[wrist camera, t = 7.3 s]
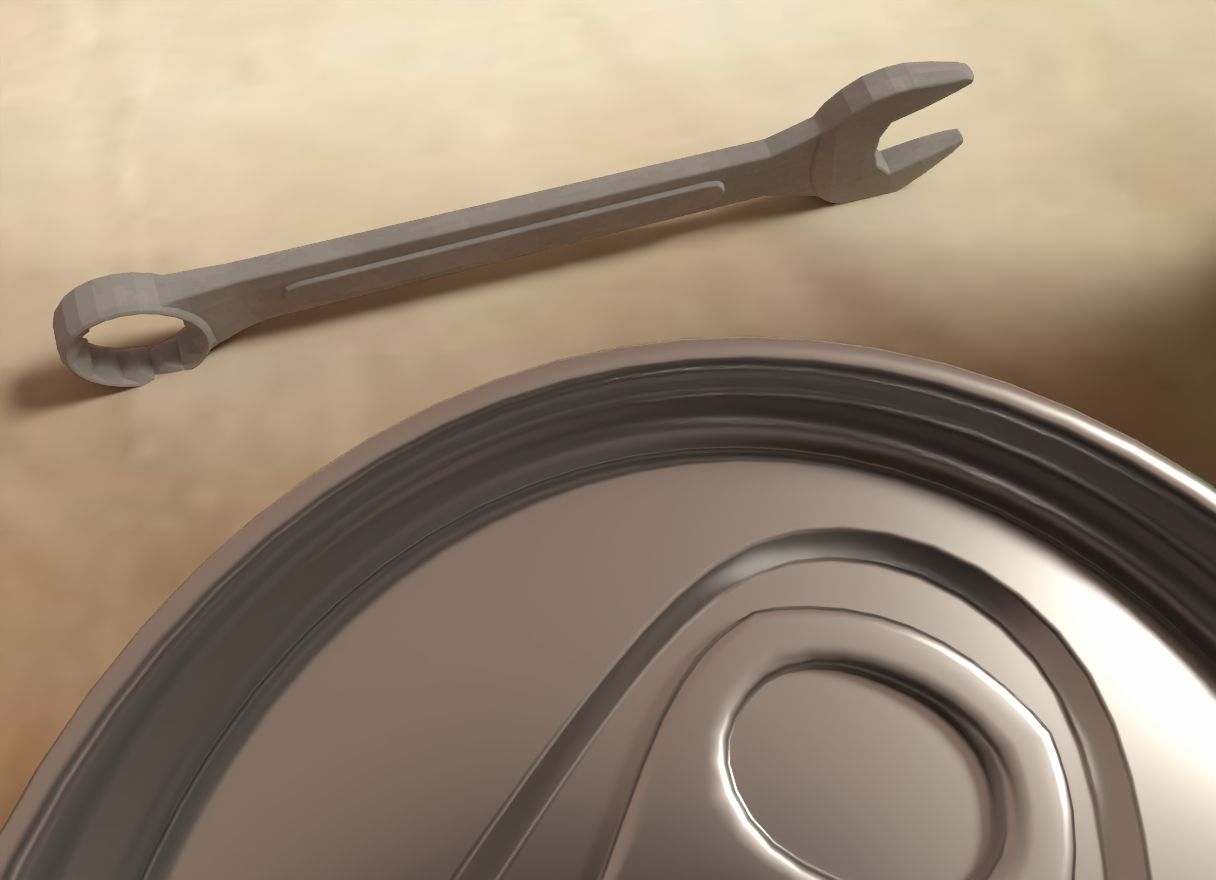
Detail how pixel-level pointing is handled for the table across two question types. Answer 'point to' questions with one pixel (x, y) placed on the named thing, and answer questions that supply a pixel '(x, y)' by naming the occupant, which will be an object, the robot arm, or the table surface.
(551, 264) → the table surface
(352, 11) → the table surface
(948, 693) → the soda can
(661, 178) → the combination wrench
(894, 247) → the table surface
